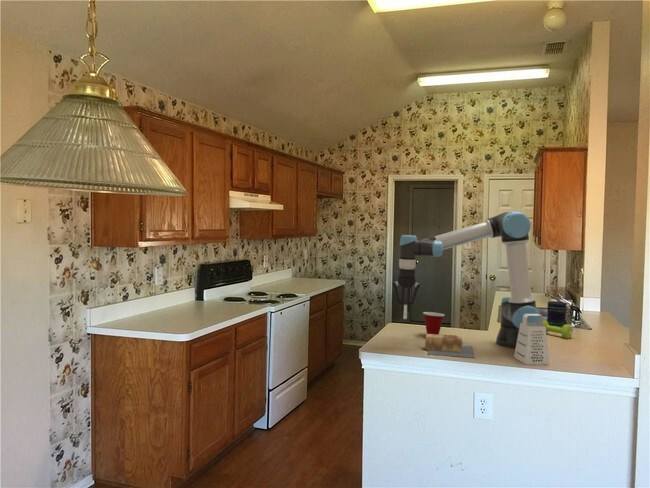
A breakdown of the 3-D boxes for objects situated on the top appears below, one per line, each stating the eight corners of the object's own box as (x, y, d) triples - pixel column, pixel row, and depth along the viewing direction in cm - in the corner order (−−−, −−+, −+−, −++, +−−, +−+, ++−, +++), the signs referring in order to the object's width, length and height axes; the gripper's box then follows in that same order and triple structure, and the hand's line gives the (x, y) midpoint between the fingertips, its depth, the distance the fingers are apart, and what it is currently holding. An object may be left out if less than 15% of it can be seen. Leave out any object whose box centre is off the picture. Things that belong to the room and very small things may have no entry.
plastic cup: (448, 336, 252) (449, 313, 251) (433, 339, 246) (434, 315, 245) (432, 332, 261) (433, 310, 260) (418, 335, 255) (418, 312, 254)
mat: (472, 346, 233) (472, 346, 233) (475, 358, 213) (475, 357, 213) (429, 343, 237) (429, 343, 237) (428, 354, 218) (428, 353, 218)
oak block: (425, 346, 231) (460, 349, 227) (425, 349, 225) (461, 352, 221) (426, 333, 230) (461, 335, 227) (425, 335, 225) (461, 338, 221)
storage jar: (542, 327, 279) (543, 301, 278) (554, 326, 283) (555, 300, 282) (557, 331, 270) (558, 304, 269) (569, 330, 274) (570, 303, 273)
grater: (549, 364, 207) (551, 317, 206) (525, 364, 206) (527, 317, 205) (536, 357, 217) (538, 312, 216) (513, 357, 216) (515, 312, 215)
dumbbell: (535, 334, 263) (536, 320, 263) (542, 332, 268) (543, 319, 268) (567, 340, 251) (567, 326, 250) (573, 338, 256) (574, 324, 256)
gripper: (421, 268, 230) (419, 318, 232) (393, 266, 233) (392, 315, 234) (421, 269, 223) (419, 321, 224) (392, 268, 226) (390, 318, 227)
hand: (405, 318), depth 229 cm, fingers closed
